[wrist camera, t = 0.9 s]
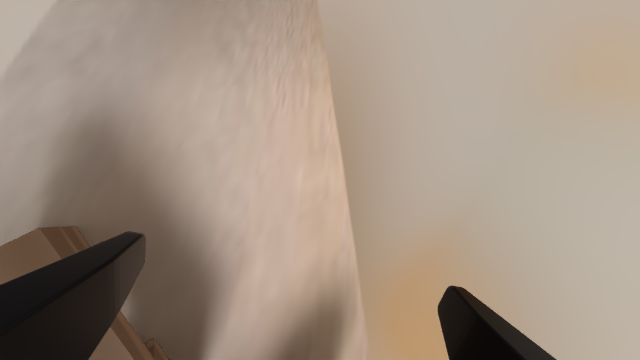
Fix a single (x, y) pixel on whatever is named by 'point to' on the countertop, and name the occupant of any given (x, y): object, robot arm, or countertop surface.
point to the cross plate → (57, 243)
